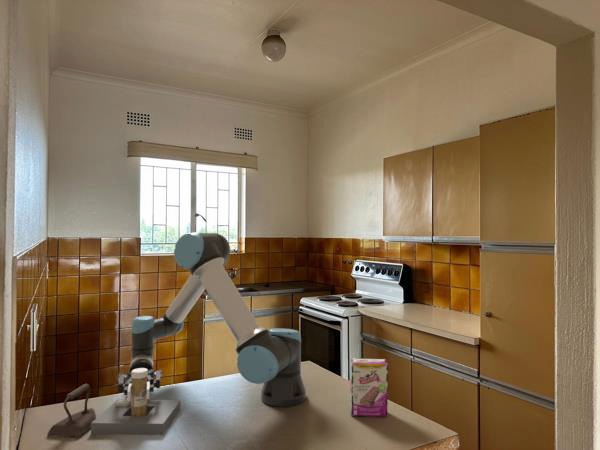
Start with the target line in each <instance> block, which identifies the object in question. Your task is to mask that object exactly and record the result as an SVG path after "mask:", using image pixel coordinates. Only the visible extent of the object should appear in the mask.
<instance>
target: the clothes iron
mask: <svg viewBox="0 0 600 450" xmlns="http://www.w3.org/2000/svg"><path fill="white" fill-rule="evenodd" d="M86 391H87V393H86V395H85V396H86V397H85V402H84V408H83V410H81V411H78V412H76V413H73V414H71V411H69V409H68V406H67V403H68V401H72V400H75V398H77V397H79V396H80V395H82V394H83V393H85V392H86ZM90 394H91V386H90V385H89V384H88V383H85V384H82V385H81V386H79V387H78V388H76V389H74V390H72V391H71V392H70V393H67V395H66V396H65V397H66V398H65V399H64V401H63V409H64V411H65V413H66V415H67V417H65V418H63V419H62V420H60V421H58V422H57V423H55V424H53V425H52V426H51V427H50V428H49V430H48V432H47V437H49V436H57V437H56V438H68V437H70V438H72V439H80V438H82V437H83V436H85V435H86V434H87V433H88V432H89V431H91V423H92V422H93V421H94V420H95V419H96V418H97V414H96V411H95V409H94V408H92V407H91V408H88V402H89V398H90ZM58 436H59V437H58Z"/></svg>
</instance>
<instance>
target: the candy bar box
mask: <svg viewBox="0 0 600 450" xmlns="http://www.w3.org/2000/svg"><path fill="white" fill-rule="evenodd" d="M388 375H389V364H388V361H387V360H386V359H385V358H383V359H382V358H354V357H353V358H350V377H349V378H350V381H349V382H350V384H349V385H350V386H349V389H350V391H349V393H350V394H349V397H350V398H349V410H350V414H351V417H368V418H369V417H370V418H371V417H373V418H374V417H375V418H376V417H377V418H378V417H379V418H387V417H388V395H389V394H388V393H389V392H388V385H389V384H388V379H389V377H388Z"/></svg>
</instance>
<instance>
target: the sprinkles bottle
mask: <svg viewBox="0 0 600 450" xmlns="http://www.w3.org/2000/svg"><path fill="white" fill-rule="evenodd" d="M147 376H148V369H146V368H137V369H134V370H132V372H131V377H132V388H131V399H130V400H131V416H146V414H147V412H146V409H147V406H146V405H147V400H148V399H146V396H147Z"/></svg>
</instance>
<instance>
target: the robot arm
mask: <svg viewBox="0 0 600 450" xmlns="http://www.w3.org/2000/svg"><path fill="white" fill-rule="evenodd" d="M230 256H231V246H230V243H229V241H228V240H227V238H226V237H225V236H223V235H222V234H220V233H217V232H196V231H193V232H187V233H183V234H182V235H181V236H180V237H179V238H178V240H177V241H176V243H175V245H174V250H173V257H174V260H175V262H176V264H177V265H178V266H179V267H180V268H182V269H185V270H188V271H189V273H190V275H189V277H188V278H187V279H186V281H185V283H184V284H183V286H182V287H181V288H180V290H179V292H178V293H177V295H176V296H175V298H174V299H173V300H172V302H171V303H170V304H169V306H168V308H167V310H166V311H165V312H164V314H163V315H162V317H160V318H155V317H153V316H152V315H142V316H136V317H134V318H133V319H132V325H131V349H130V350H131V351H130V352H131V355H130V366H129V369H128V372H127V373H126V374H123V373H118V375H117V383H118V393H122V392H123V396H127V399H126V400H127V401H130V400H131V388H132V377H131V372H132V370H134V369H137V368H146V369H148V376H147V396H146V399H147V400H150V393H153V392H154V389H160V388H161V380H162V379H163V369H159V370H156V371H155V370H154V359H155V356H154V347H155V341H157V340H160V339H164V338H167V337H171V336H175V335H176V334H178V333H180V332H182V330H183V328H184V325H185V324H184V323H185V322H184V320H185V319H186V317H187V316H188V314H189V312H190V311H191V310H192V308H193V307H194V306H195V304H196V302H198V300H199V298H200V297H201V296H202V294H203V293H204V292H205V290H206V292H207V294H208V296H209V297H210V299H211V301H212V302H213V304H214V305H215V307H216V309H217V311H218V313H219V314H220V316H221V318H222V320H223V321H224V323H225V324H226V326H227V328H228V330H229V331H230V333H231V335H232V336H233V338H234V340H235V341H236V344H235V349H234V350H235V351H236V353H237V358H236V359H237V363H236V366H237V369H238V372H239V374H240V375H241V376H242V378H244V380H246V381H247V382H248V383H251V384H256V385H261V384H263V385H262V388H261V392H260V397H261V398H260V399H261V401H262V402H263V403H265V404H267V405H269V406H274V407H293V406H297V405H300V404H301V403H303V402H305V400H306V399H305V398H306V396H307V395H306V394H307V393H306V387H305V385H304V381H303V377H302V375H301V374H302V373H301V372H302V371H301V368H302V364H301V363H302V362H301V361H302V359H301V358H302V355H301V354H302V337H301V336H302V334H301V332H300V331H299V330H297V329H296V330H295V329H293V328H292V329H291V328H277V327H276V328H268V329H267V328H266V327H262V326H260V324H259V323H258V321H257V320H256V318H255V316H254V315H253V313H252V311H251V309H250V308H249V306H248V305H247V303H246V301H245V300H244V299H243V296H242V295H241V294H240V291H239V289H238V288H237V287H236V285H235V284H234V282H233V280H232V278H231V276H229V274H228V272H227V270H226V269H225V267H226V264H227V263H228V261H229V258H230Z"/></svg>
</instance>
